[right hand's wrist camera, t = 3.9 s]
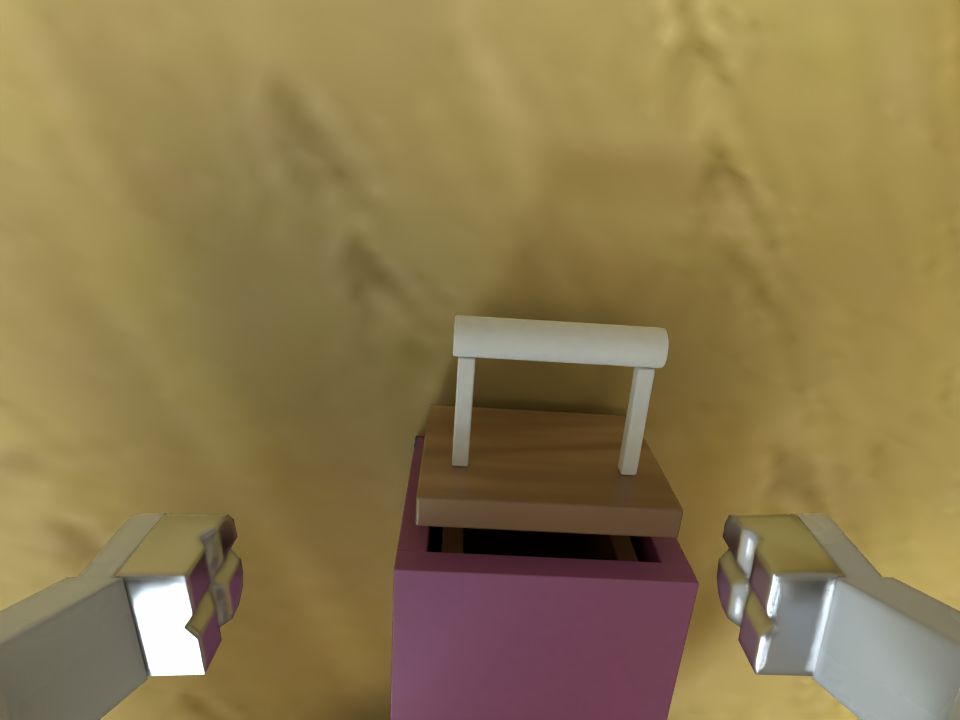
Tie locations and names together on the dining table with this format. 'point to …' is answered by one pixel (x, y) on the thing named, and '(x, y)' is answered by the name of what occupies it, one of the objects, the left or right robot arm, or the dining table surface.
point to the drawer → (546, 452)
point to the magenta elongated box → (534, 630)
